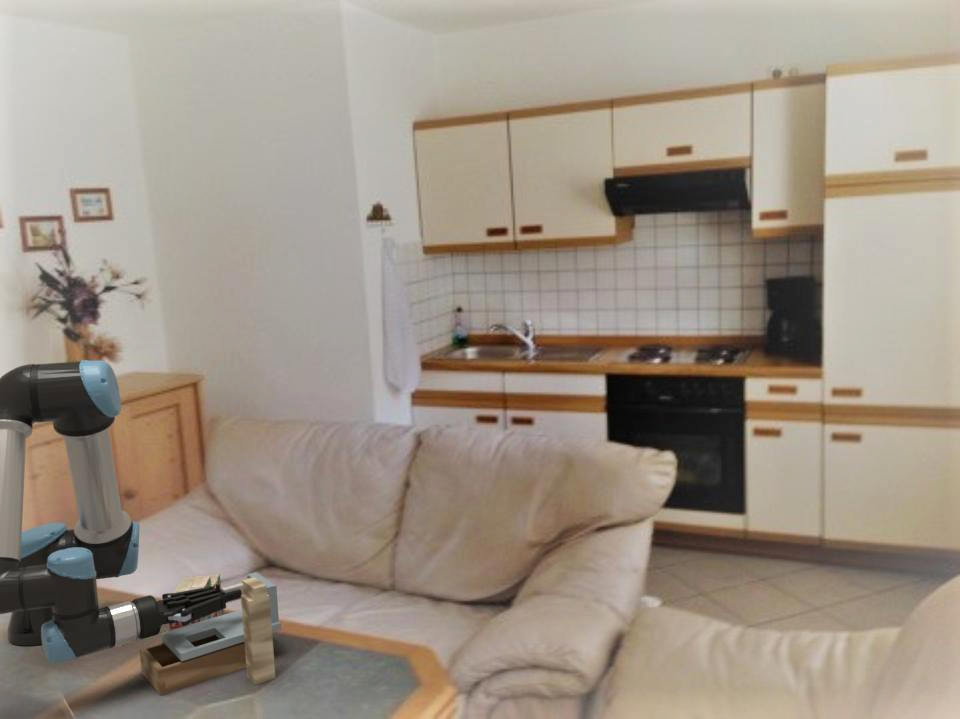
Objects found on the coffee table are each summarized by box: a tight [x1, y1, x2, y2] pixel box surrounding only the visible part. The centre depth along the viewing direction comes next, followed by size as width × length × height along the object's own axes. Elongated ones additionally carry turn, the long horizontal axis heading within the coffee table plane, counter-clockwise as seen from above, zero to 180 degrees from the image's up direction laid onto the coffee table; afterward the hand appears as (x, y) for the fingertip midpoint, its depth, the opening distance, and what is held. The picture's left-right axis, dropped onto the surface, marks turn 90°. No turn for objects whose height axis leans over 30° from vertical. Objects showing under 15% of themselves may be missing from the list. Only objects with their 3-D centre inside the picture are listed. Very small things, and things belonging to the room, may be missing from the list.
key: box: [240, 577, 276, 685], centre depth 160 cm, size 6×4×20 cm
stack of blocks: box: [168, 573, 224, 631], centre depth 184 cm, size 21×6×12 cm, turn 6°
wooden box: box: [139, 635, 246, 697], centre depth 166 cm, size 12×20×6 cm, turn 128°
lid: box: [160, 572, 282, 661], centre depth 168 cm, size 12×20×9 cm, turn 128°
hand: (254, 587), depth 173 cm, fingers closed
